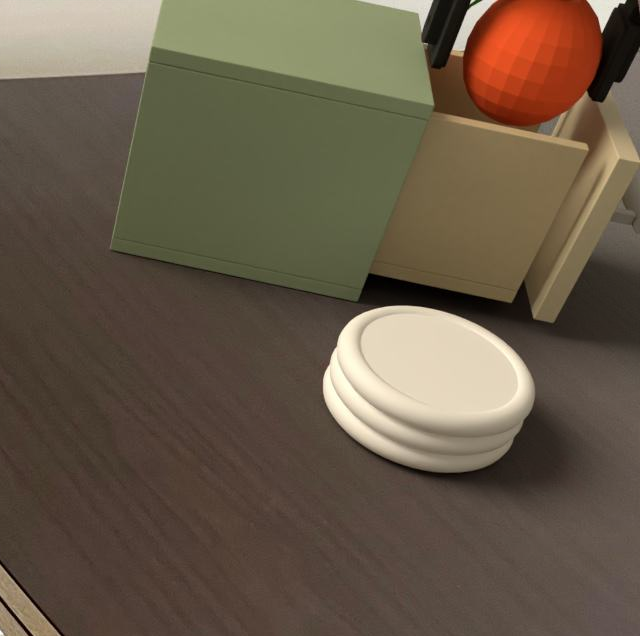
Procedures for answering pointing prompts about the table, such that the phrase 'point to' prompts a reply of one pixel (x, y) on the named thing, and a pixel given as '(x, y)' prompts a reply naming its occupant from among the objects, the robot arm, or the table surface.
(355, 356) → the cream round stack
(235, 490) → the table surface
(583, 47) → the clementine
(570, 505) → the table surface
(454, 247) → the drawer
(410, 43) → the cabinet
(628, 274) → the table surface
